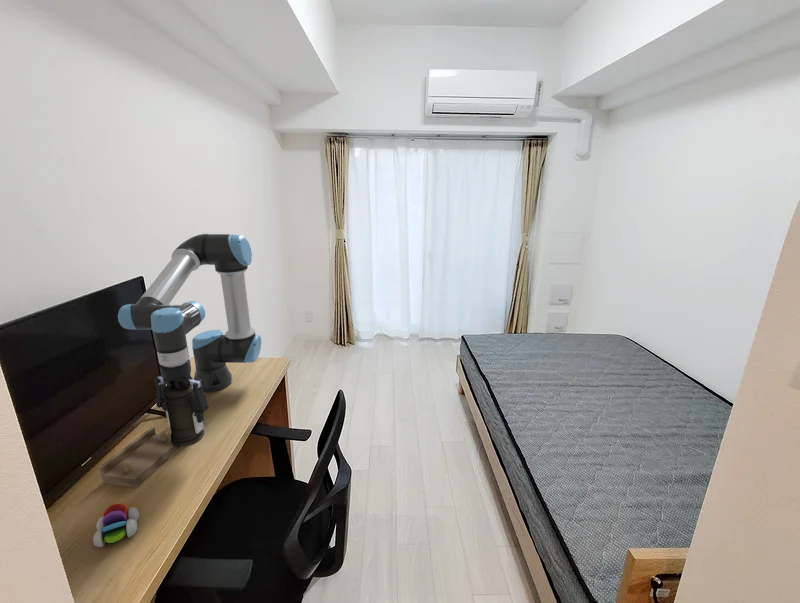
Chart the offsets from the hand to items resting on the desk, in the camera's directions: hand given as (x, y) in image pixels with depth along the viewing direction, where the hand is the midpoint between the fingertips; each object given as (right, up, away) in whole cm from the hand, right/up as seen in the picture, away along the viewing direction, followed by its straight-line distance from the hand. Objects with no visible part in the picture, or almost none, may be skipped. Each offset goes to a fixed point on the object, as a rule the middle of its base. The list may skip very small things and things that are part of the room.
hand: (186, 428), depth 116 cm
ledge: (-14, -11, +2) cm, 18 cm away
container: (0, -3, +1) cm, 4 cm away
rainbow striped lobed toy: (-5, -19, -21) cm, 29 cm away
